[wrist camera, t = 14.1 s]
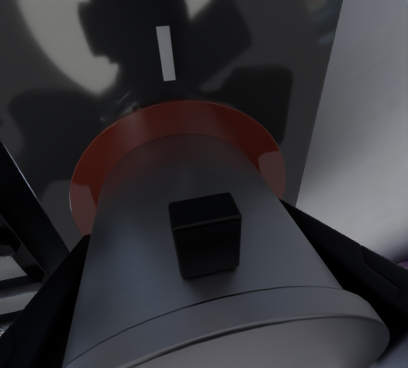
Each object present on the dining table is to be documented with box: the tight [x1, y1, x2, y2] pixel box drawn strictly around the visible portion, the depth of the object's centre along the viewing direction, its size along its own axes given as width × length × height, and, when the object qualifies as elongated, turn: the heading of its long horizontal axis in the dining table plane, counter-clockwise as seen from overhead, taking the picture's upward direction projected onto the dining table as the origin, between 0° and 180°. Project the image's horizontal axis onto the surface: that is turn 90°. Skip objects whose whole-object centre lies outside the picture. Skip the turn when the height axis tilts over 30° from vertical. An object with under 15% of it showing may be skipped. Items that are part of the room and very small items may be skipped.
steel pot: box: [62, 134, 390, 368], centre depth 8 cm, size 9×7×6 cm
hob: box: [0, 0, 343, 252], centre depth 9 cm, size 18×11×3 cm, turn 3°
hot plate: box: [69, 98, 286, 236], centre depth 10 cm, size 9×9×1 cm
